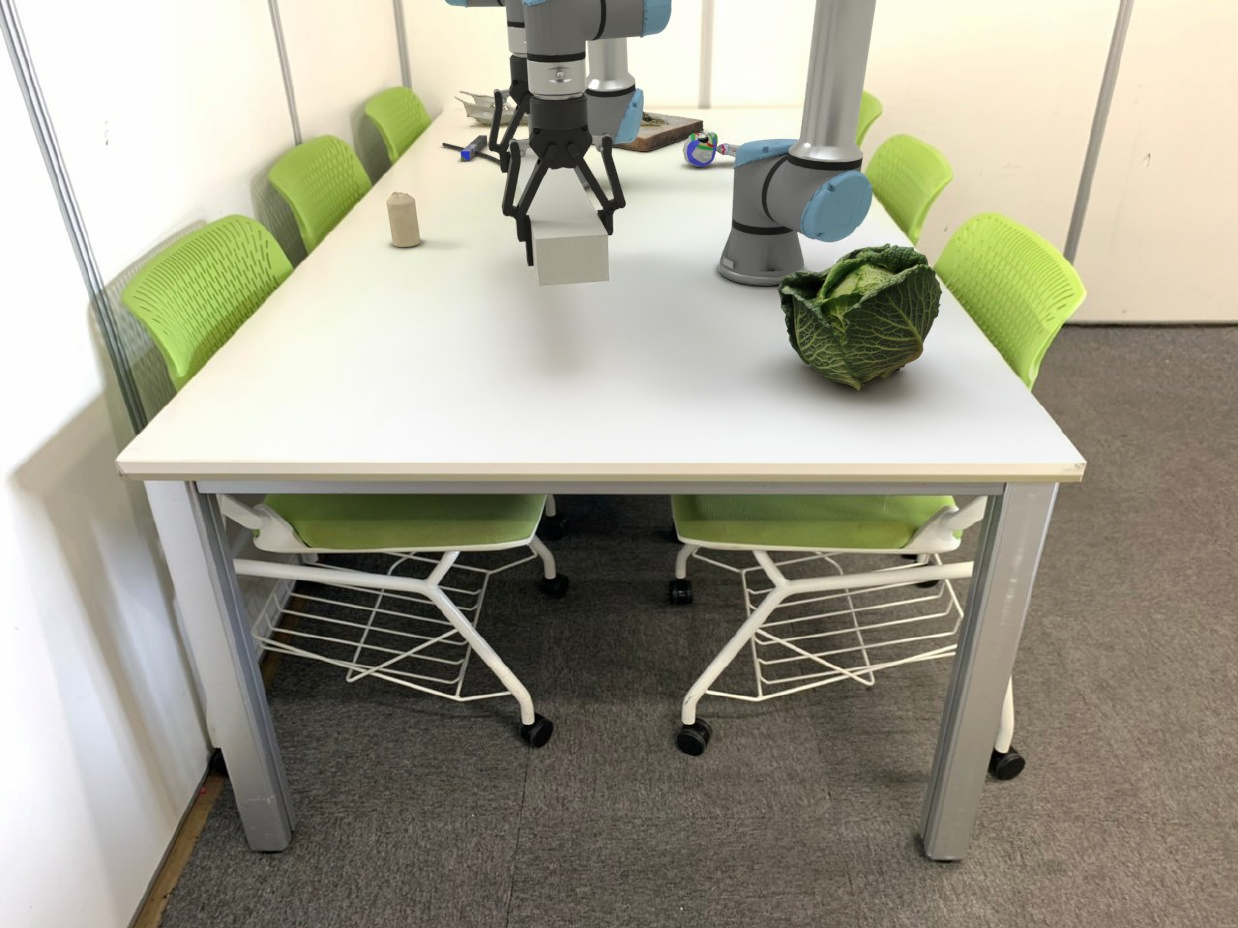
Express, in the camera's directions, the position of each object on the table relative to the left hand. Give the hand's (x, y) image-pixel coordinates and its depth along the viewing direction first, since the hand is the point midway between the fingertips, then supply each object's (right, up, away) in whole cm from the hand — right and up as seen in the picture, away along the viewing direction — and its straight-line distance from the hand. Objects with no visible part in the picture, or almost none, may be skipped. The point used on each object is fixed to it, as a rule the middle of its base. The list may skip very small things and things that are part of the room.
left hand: (540, 188), depth 161 cm
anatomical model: (-23, +55, +115) cm, 130 cm away
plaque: (+19, +45, +98) cm, 110 cm away
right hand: (+7, -20, -33) cm, 39 cm away
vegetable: (+48, -37, -32) cm, 68 cm away
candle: (-29, -5, +19) cm, 35 cm away
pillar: (-25, +36, +84) cm, 95 cm away
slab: (+3, -11, -16) cm, 20 cm away
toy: (+46, +27, +69) cm, 87 cm away
